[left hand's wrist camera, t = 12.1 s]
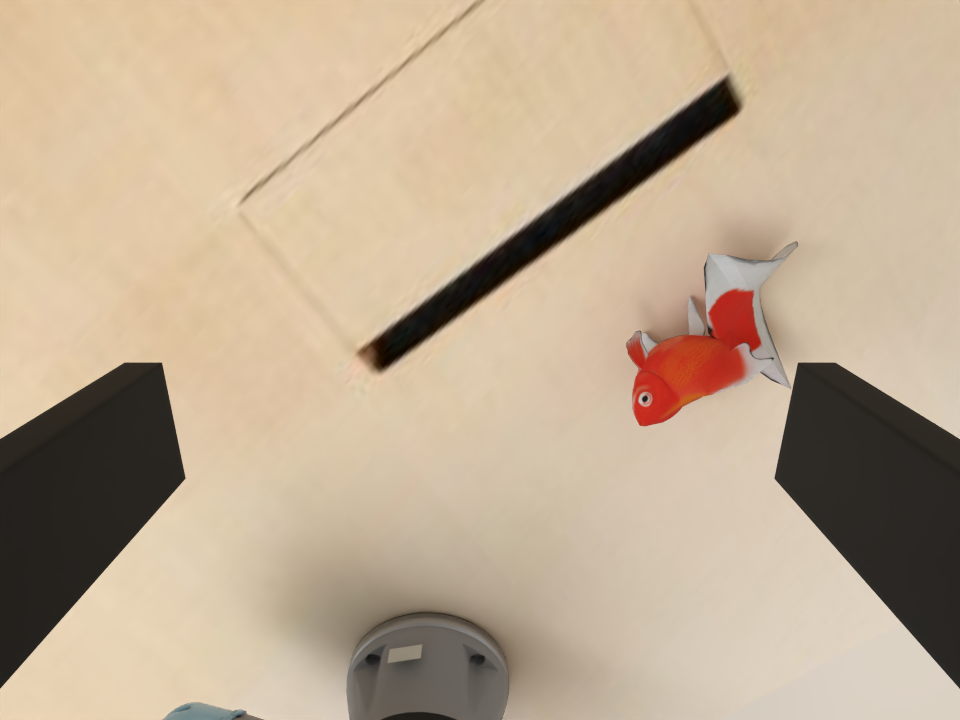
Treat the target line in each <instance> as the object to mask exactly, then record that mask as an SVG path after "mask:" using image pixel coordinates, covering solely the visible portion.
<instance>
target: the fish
mask: <svg viewBox="0 0 960 720" xmlns="http://www.w3.org/2000/svg"><path fill="white" fill-rule="evenodd" d="M797 247H798V242H797V241H795V242H794V243H792V244H790V245H788V246H786V247H785V248H784V249H782V250H781V251H780V252H779V253H778V254H777V255H776V256H775V257H774V258H773V259H771V260H768V261H762V260H746V259H741V258H737V257H733V256H728V255H719V254H708V257H707V260H706V263H705V266H704V276H705V290H706V314H707V324H708V333H709V334H710V335H711V336H704V335H705V325H704V323H703V321H702V319H701V317H700V315H699V313H698V311H697V309H696V307H695V305H694V302H693V300H692V298H691V297H689V298H688V324H689V335H681V336H676V337H673V338H670V339H667V340H665V341H663V342H661V343H657V342H656V341H654V340H653V339H652V338H651V337H650V336H649V335H648V334H647V333H643V334H642V335H641V331H637V332H635V333H634V335H633V337H632V338H631V339H630V340H629V341H628V342H627V345H626V347H627V349H628V355H629V356H630V358H631V359H632V361H633V362H634V363H635V364H636V366H637V367H638V368H639V370H638V373H637V376H636V378H635V383H634V388H633V394H632V408H633V412H634V415H635V417H636V419H637V421H638V423H639V425H640V426H648V425H652V424H657V423H662V422H664V421H666V420H668V419H670V418H671V417H673V416H674V415H675V414H676V413H677V412H678V411H679V410H680V409H681V408H682V407H683V406H685V405H687V404H689V403H691V402H693V401H695V400H697V399H699V398H701V397H702V396H707V395H712V394H715V393H718V392H721V391H724V390H727V389H730V388H733V387H736V386H739V385H741V384H744V383H747V382H748V381H750V380H751V379H752V378H754V377H755V376H756V375H758V374H759V373H762V374H763V375H765V376H766V377H767V378H769V379H770V380H772V381H774V382H777V383H779V384H781V385H784V386H786V387H788V388H790V389H791V387H790V384H789V381H788V379H787V376H786V374H785V371H784V369H783V366H782V364H781V361H780V358H779V356H778V353H777V351H776V348H775V346H774V343H773V340H772V338H771V335H770V333H769V330H768V327H767V324H766V321H765V317H764V314H763V311H762V308H761V302H760V294H759V290H760V287H761V286H762V284H763V283H764V282H765V281H766V280H767V279H768V277H769V276H770V275H771V274H772V273H773V272H774V271H775V270H776V269H777V268H778V267H779V266H780V264H781V263H782V262H783V261H784V260H785V259H786V258H787V257H788V256H789V255H790V254H791V253H792V252H793V251H794V250H795V249H796V248H797Z"/></svg>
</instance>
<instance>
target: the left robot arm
mask: <svg viewBox="0 0 960 720" xmlns="http://www.w3.org/2000/svg"><path fill="white" fill-rule="evenodd" d="M185 479H186V478H185V474H184V469H183V464H182V459H181V454H180V449H179V444H178V439H177V434H176V429H175V425H174V420H173V415H172V410H171V405H170V400H169V395H168V390H167V385H166V380H165V375H164V371H163V366H162V363H123V364H122V365H120V366H119V367H117V368H115V369H114V370H112V371H110V372H109V373H107V374H106V375H104V376H102V377H101V378H99V379H97V380H96V381H94V382H93V383H91V384H89V385H88V386H86V387H84V388H83V389H81V390H80V391H78V392H76V393H75V394H73V395H71V396H70V397H68V398H66V399H65V400H63V401H62V402H60V403H58V404H57V405H55V406H53V407H52V408H50V409H49V410H47V411H45V412H44V413H42V414H40V415H39V416H37V417H36V418H34V419H32V420H31V421H29V422H27V423H26V424H24V425H22V426H21V427H19V428H18V429H16V430H14V431H13V432H11V433H9V434H8V435H6V436H5V437H3V438H1V439H0V688H1V687H2V686H3V685H4V684H5V683H6V681H7V680H8V679H9V678H10V677H11V676H12V675H13V673H14V672H15V671H16V670H17V669H18V668H19V667H20V666H21V664H22V663H23V662H24V661H25V660H26V659H27V658H28V656H29V655H30V654H31V653H32V652H33V651H34V650H35V649H36V647H37V646H38V645H39V644H40V643H41V642H42V641H43V639H44V638H45V637H46V636H47V635H48V634H49V633H50V632H51V630H52V629H53V628H54V627H55V626H56V625H57V624H58V622H59V621H60V620H61V619H62V618H63V617H64V616H65V615H66V613H67V612H68V611H69V610H70V609H71V608H72V607H73V605H74V604H75V603H76V602H77V601H78V600H79V599H80V598H81V596H82V595H83V594H84V593H85V592H86V591H87V590H88V588H89V587H90V586H91V585H92V584H93V583H94V582H95V581H96V579H97V578H98V577H99V576H100V575H101V574H102V573H103V571H104V570H105V569H106V568H107V567H108V566H109V565H110V564H111V562H112V561H113V560H114V559H115V558H116V557H117V556H118V554H119V553H120V552H121V551H122V550H123V549H124V548H125V547H126V545H127V544H128V543H129V542H130V541H131V540H132V539H133V537H134V536H135V535H136V534H137V533H138V532H139V531H140V530H141V528H142V527H143V526H144V525H145V524H146V523H147V522H148V520H149V519H150V518H151V517H152V516H153V515H154V514H155V513H156V511H157V510H158V509H159V508H160V507H161V506H162V505H163V503H164V502H165V501H166V500H167V499H168V498H169V497H170V496H171V494H172V493H173V492H174V491H175V490H176V489H177V488H178V486H179V485H180V484H181V483H182V482H183V481H184V480H185ZM774 479H775V480H776V481H777V482H778V483H779V484H780V485H781V486H782V488H783V489H784V490H785V491H786V492H787V493H788V494H789V496H790V497H791V498H792V499H793V500H794V501H795V502H796V503H797V505H798V506H799V507H800V508H801V509H802V510H803V511H804V513H805V514H806V515H807V516H808V517H809V518H810V519H811V520H812V522H813V523H814V524H815V525H816V526H817V527H818V528H819V530H820V531H821V532H822V533H823V534H824V535H825V536H826V537H827V539H828V540H829V541H830V542H831V543H832V544H833V545H834V547H835V548H836V549H837V550H838V551H839V552H840V553H841V554H842V556H843V557H844V558H845V559H846V560H847V561H848V562H849V564H850V565H851V566H852V567H853V568H854V569H855V570H856V571H857V573H858V574H859V575H860V576H861V577H862V578H863V579H864V581H865V582H866V583H867V584H868V585H869V586H870V587H871V588H872V590H873V591H874V592H875V593H876V594H877V595H878V596H879V598H880V599H881V600H882V601H883V602H884V603H885V604H886V605H887V607H888V608H889V609H890V610H891V611H892V612H893V613H894V615H895V616H896V617H897V618H898V619H899V620H900V621H901V622H902V624H903V625H904V626H905V627H906V628H907V629H908V630H909V632H910V633H911V634H912V635H913V636H914V637H915V638H916V639H917V641H918V642H919V643H920V644H921V645H922V646H923V647H924V649H925V650H926V651H927V652H928V653H929V654H930V655H931V656H932V658H933V659H934V660H935V661H936V662H937V663H938V664H939V666H940V667H941V668H942V669H943V670H944V671H945V672H946V673H947V675H948V676H949V677H950V678H951V679H952V680H953V681H954V683H955V684H956V685H957V686H958V687H959V688H960V439H959V438H957V437H955V436H954V435H952V434H951V433H949V432H947V431H946V430H944V429H942V428H941V427H939V426H938V425H936V424H934V423H933V422H931V421H929V420H928V419H926V418H924V417H923V416H921V415H920V414H918V413H916V412H915V411H913V410H911V409H910V408H908V407H907V406H905V405H903V404H902V403H900V402H898V401H897V400H895V399H894V398H892V397H890V396H889V395H887V394H885V393H884V392H882V391H880V390H879V389H877V388H876V387H874V386H872V385H871V384H869V383H867V382H866V381H864V380H863V379H861V378H859V377H858V376H856V375H854V374H853V373H851V372H850V371H848V370H846V369H845V368H843V367H841V366H840V365H838V364H837V363H798V366H797V371H796V375H795V380H794V385H793V390H792V395H791V400H790V405H789V410H788V415H787V420H786V425H785V429H784V434H783V439H782V444H781V449H780V454H779V459H778V464H777V469H776V474H775V478H774ZM508 693H509V680H508V667H507V662H506V659H505V656H504V654H503V652H502V650H501V649H500V647H499V646H498V644H497V643H496V642H495V641H494V640H493V639H492V637H491V636H489V635H488V634H487V633H486V632H485V631H483V630H482V629H480V628H479V627H477V626H475V625H474V624H472V623H470V622H467V621H465V620H462V619H460V618H456V617H453V616H449V615H443V614H435V613H418V614H410V615H405V616H401V617H397V618H394V619H392V620H389V621H387V622H385V623H383V624H381V625H379V626H377V627H376V628H374V629H373V630H372V631H370V632H369V633H368V634H367V635H366V636H365V637H364V638H363V639H362V640H361V641H360V643H359V644H358V646H357V647H356V649H355V651H354V653H353V656H352V659H351V663H350V667H349V671H348V676H347V701H348V710H349V718H350V720H502V718H503V714H504V711H505V708H506V704H507V699H508ZM163 720H263V719H260V718H257V717H254V716H251V715H248V714H247V713H246V711H244V710H235V711H231V710H227V709H223V708H219V707H215V706H211V705H207V704H203V703H195V702H194V703H188V704H185V705H182V706H180V707H178V708H176V709H175V710H173V711H172V712H171V713H169V714H168V715H167V716H166V717H165V718H164V719H163Z"/></svg>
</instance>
